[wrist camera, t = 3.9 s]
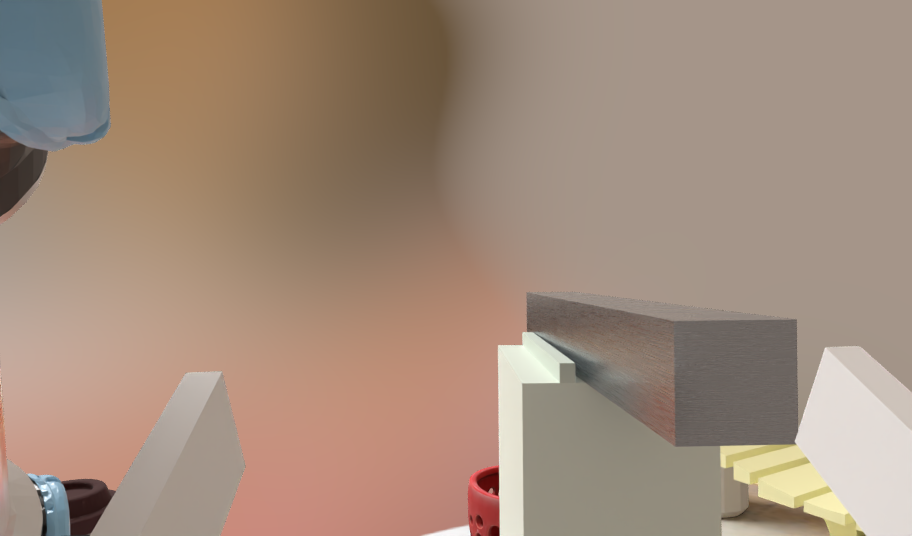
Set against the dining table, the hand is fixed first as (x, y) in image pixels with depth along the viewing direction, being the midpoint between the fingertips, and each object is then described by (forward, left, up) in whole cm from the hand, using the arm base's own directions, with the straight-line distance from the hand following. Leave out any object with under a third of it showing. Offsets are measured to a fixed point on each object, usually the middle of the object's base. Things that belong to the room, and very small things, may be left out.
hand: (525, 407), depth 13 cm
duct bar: (+18, +13, -3) cm, 22 cm away
